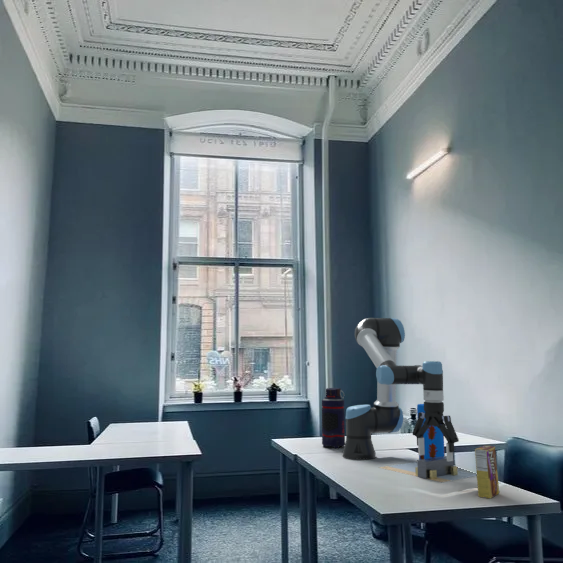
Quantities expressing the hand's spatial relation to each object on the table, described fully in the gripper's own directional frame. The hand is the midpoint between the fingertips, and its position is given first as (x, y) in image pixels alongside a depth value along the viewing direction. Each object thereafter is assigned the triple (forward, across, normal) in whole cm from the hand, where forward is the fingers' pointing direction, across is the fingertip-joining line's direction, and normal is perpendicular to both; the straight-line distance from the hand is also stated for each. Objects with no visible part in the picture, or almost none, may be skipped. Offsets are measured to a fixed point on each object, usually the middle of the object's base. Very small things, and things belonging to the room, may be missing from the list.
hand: (435, 458), depth 199 cm
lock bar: (+6, +1, -1) cm, 6 cm away
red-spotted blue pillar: (+8, -19, +21) cm, 29 cm away
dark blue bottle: (+9, -79, +16) cm, 81 cm away
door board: (+7, -6, +3) cm, 10 cm away
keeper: (+6, +1, 0) cm, 6 cm away
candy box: (+7, +28, -7) cm, 29 cm away
